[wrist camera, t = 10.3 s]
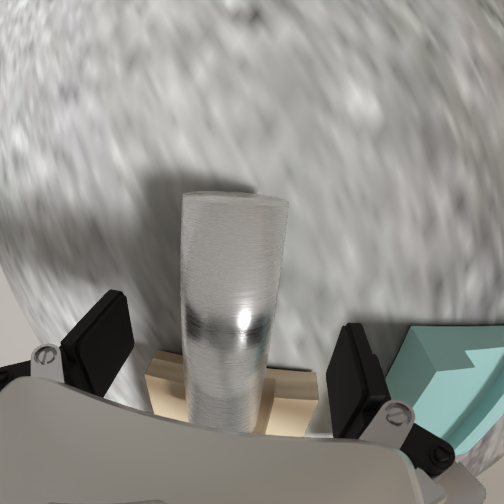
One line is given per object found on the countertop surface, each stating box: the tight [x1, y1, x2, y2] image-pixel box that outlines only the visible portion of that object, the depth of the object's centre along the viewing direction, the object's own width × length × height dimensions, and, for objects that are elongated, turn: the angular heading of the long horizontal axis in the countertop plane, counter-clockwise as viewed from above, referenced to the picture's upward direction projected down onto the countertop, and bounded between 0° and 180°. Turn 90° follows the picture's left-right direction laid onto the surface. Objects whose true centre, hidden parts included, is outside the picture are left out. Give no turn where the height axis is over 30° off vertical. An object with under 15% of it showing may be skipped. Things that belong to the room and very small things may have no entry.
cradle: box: [385, 326, 504, 456], centre depth 14 cm, size 12×12×4 cm
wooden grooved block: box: [144, 350, 319, 437], centre depth 19 cm, size 18×10×2 cm, turn 175°
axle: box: [180, 191, 289, 433], centre depth 12 cm, size 12×4×4 cm, turn 175°
